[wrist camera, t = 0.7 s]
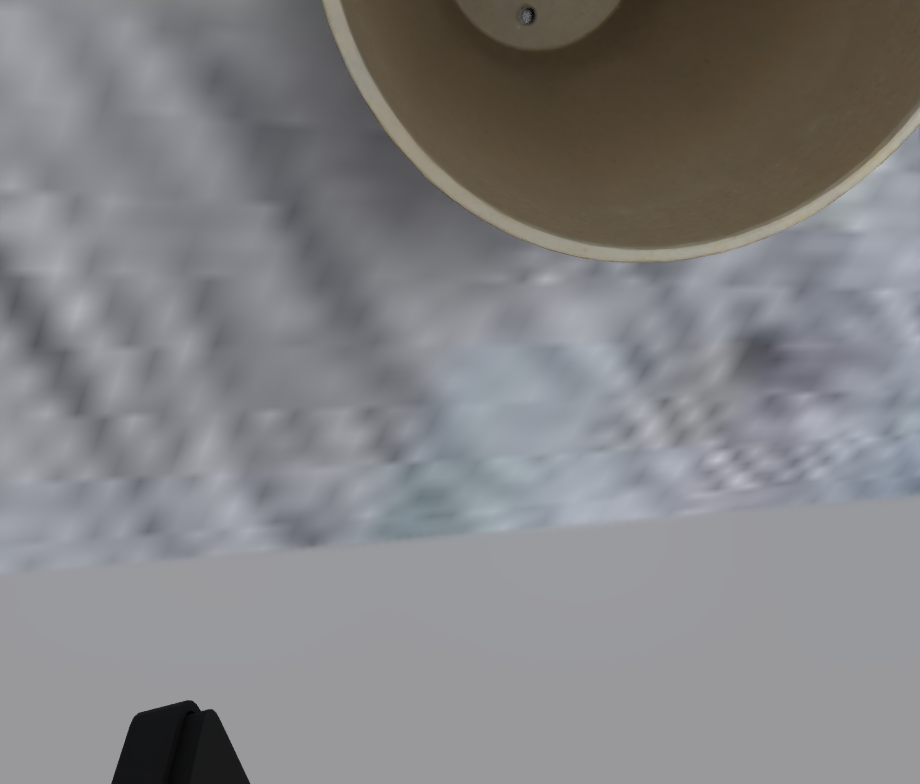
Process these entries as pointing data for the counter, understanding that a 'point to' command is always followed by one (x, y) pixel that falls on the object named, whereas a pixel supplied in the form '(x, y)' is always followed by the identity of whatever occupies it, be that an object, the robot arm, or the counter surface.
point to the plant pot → (638, 111)
